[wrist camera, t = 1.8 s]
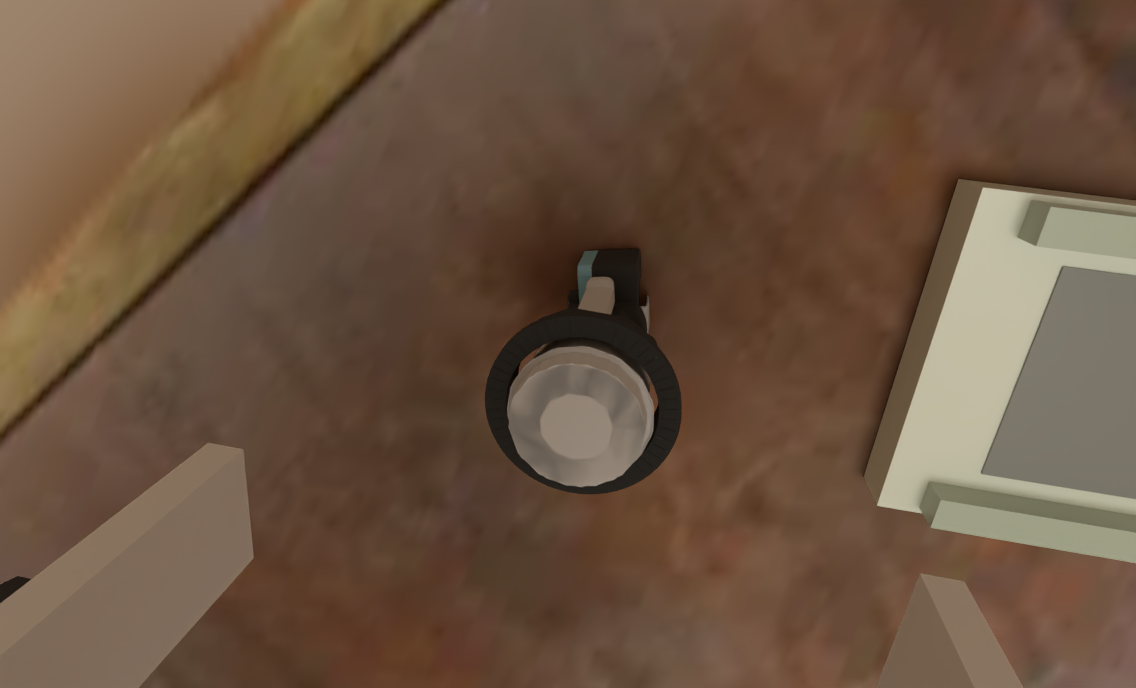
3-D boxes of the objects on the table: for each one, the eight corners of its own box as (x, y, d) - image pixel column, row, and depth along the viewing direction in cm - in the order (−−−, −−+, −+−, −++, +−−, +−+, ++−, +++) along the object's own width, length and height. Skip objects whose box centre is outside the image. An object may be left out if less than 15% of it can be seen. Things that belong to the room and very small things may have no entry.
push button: (681, 398, 27) (683, 559, 18) (552, 398, 28) (492, 552, 19) (678, 236, 25) (680, 327, 16) (538, 242, 26) (462, 331, 17)
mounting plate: (863, 477, 27) (886, 524, 24) (958, 178, 23) (1000, 193, 20) (1179, 529, 26) (1243, 586, 23) (1346, 226, 22) (1450, 248, 19)
